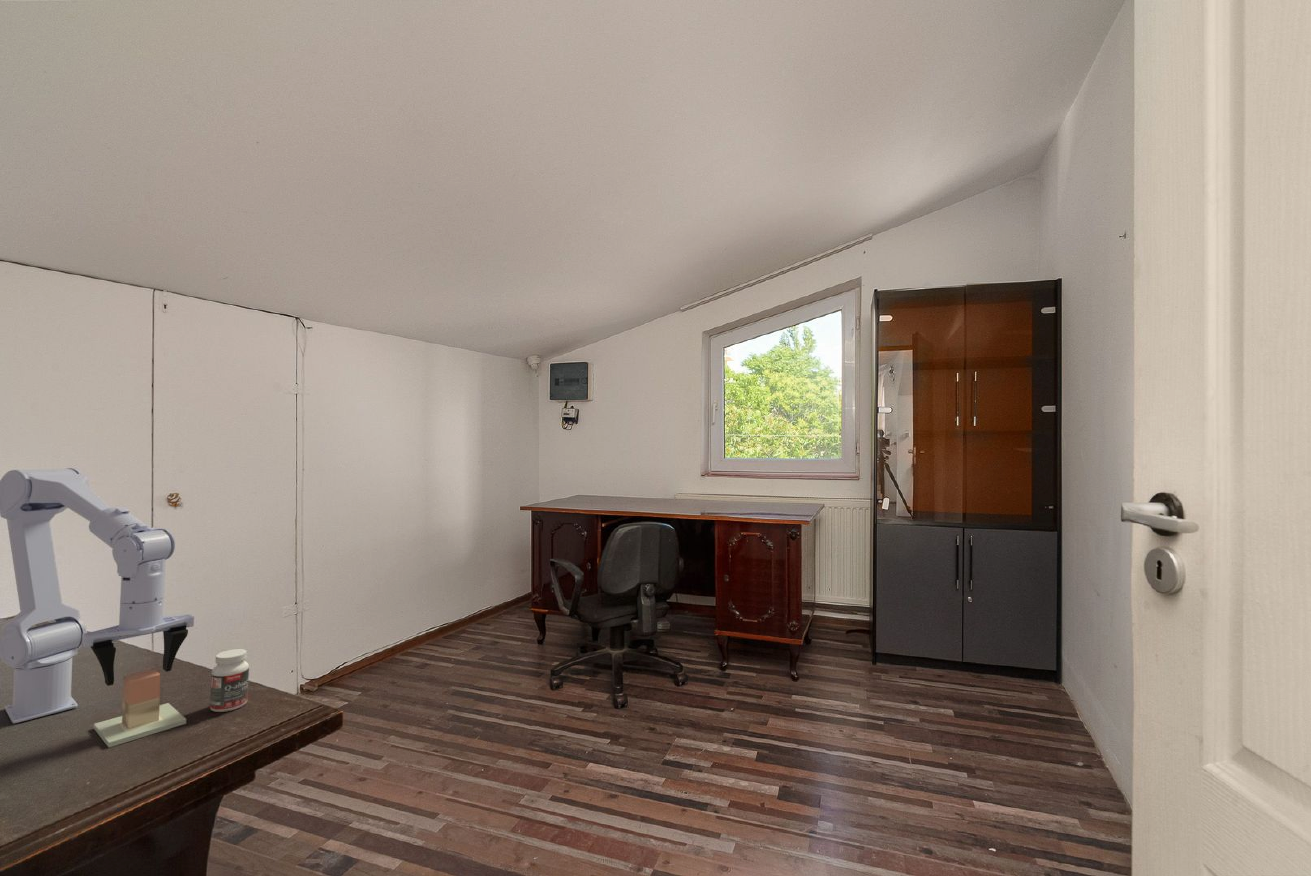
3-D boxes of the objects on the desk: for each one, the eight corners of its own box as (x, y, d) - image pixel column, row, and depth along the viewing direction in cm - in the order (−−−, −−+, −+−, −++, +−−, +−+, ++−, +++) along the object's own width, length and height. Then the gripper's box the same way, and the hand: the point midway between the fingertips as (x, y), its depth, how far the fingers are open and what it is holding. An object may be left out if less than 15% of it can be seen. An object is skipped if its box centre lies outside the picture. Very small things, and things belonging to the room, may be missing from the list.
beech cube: (121, 722, 98) (122, 699, 98) (152, 713, 101) (152, 691, 101) (128, 729, 95) (129, 705, 95) (158, 720, 99) (159, 697, 99)
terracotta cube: (122, 698, 98) (123, 675, 98) (152, 691, 101) (153, 668, 101) (129, 705, 95) (130, 681, 96) (159, 697, 99) (160, 674, 99)
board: (93, 728, 97) (93, 723, 97) (168, 707, 105) (168, 702, 105) (108, 747, 91) (108, 742, 91) (186, 723, 99) (186, 718, 99)
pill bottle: (227, 714, 103) (229, 660, 103) (201, 711, 104) (203, 657, 104) (255, 701, 109) (257, 649, 109) (230, 697, 110) (232, 646, 110)
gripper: (90, 613, 91) (86, 697, 91) (200, 595, 103) (197, 669, 103) (80, 604, 95) (77, 685, 95) (188, 588, 107) (185, 660, 107)
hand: (139, 676), depth 99 cm, fingers open, 7 cm apart
